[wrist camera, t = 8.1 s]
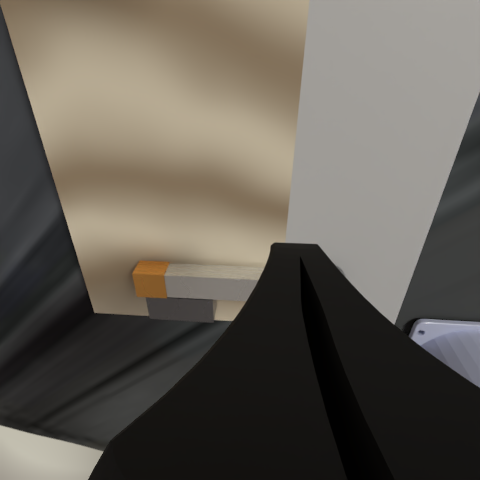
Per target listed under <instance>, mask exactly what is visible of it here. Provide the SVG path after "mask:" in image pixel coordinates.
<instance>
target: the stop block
mask: <svg viewBox="0 0 480 480" xmlns="http://www.w3.org/2000/svg"><path fill="white" fill-rule="evenodd" d="M146 302H147V308H148V313H149V318H150V319H161V320H177V321H194V322H211V323H214V319H215V313H216V308H217V300H212V299H193V298H174V297H167V298H151V297H146Z"/></svg>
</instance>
